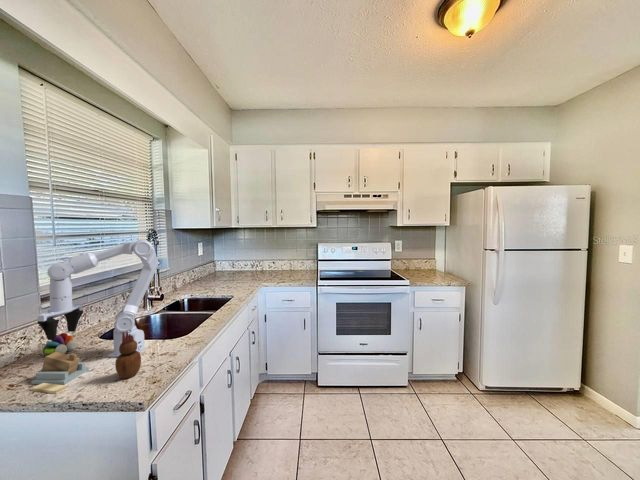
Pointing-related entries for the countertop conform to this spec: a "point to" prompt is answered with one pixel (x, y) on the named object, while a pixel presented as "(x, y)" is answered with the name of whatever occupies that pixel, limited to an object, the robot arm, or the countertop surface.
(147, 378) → the countertop surface
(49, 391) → the plank
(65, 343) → the rainbow segmented toy
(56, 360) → the tan pegged block
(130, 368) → the wooden figurine
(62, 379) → the jig
